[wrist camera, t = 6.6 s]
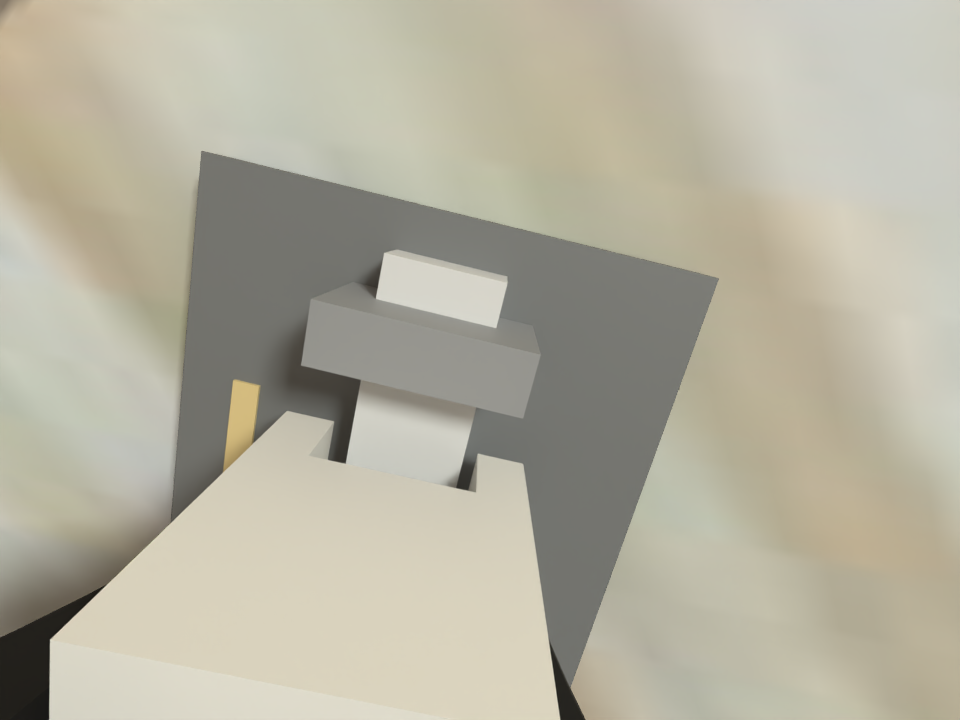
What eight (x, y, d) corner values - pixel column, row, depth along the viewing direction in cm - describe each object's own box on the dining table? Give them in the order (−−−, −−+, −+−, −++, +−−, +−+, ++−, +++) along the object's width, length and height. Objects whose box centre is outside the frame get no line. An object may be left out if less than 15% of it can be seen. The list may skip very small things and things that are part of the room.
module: (465, 663, 12) (446, 1054, 7) (250, 619, 12) (33, 987, 6) (523, 463, 11) (563, 740, 5) (279, 409, 11) (33, 637, 5)
